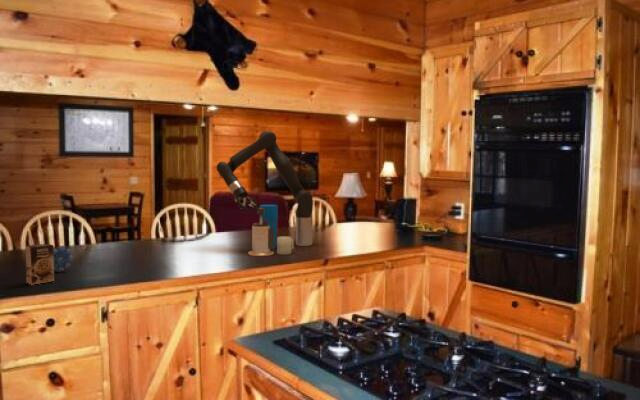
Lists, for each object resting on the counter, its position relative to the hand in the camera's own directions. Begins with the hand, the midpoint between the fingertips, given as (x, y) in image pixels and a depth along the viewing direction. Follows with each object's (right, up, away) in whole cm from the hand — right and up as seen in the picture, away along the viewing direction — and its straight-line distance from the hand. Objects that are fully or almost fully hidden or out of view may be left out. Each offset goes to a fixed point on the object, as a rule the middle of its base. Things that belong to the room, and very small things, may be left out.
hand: (252, 212), depth 302 cm
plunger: (+5, -19, -2) cm, 20 cm away
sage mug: (+17, -23, +1) cm, 29 cm away
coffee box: (-81, -28, -73) cm, 113 cm away
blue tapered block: (+7, -22, +20) cm, 30 cm away
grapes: (-83, -27, -52) cm, 101 cm away
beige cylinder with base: (+5, -23, -1) cm, 24 cm away
